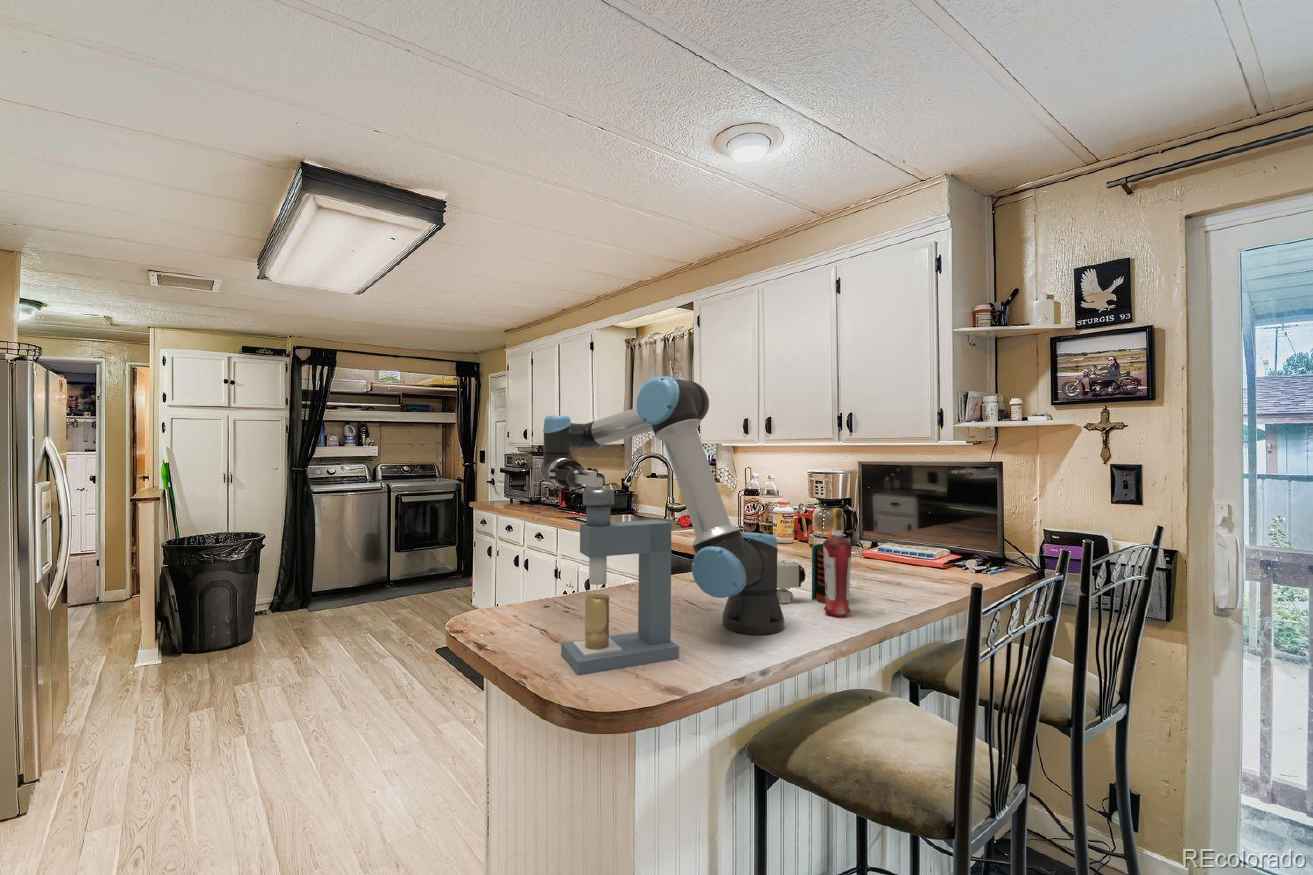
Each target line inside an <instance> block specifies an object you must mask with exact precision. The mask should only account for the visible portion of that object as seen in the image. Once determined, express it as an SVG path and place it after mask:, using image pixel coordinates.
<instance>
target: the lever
mask: <svg viewBox="0 0 1313 875" xmlns="http://www.w3.org/2000/svg"><path fill="white" fill-rule="evenodd" d="M567 482H568V484H569V485H570V486H571V487H570V488H576V489H577V488H581V487H582V486H589V487H592V488H584V489H582V505H584V506H587V505H588V506H608V505H610V506H614V504H615V490H614V489H613V488H612V489H611V488H603V487H604V486H603V485H604V484H603V483H604V479H603V477H599V476H598V477H592V476H586V475H585V474H584V472H583V471H581V470H580V469H573V470H571V471H570V472H569V473H568V474H567Z"/></svg>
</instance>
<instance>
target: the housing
mask: <svg viewBox="0 0 1313 875" xmlns="http://www.w3.org/2000/svg"><path fill="white" fill-rule="evenodd" d="M584 604H585V605H584V639H585V647H586V648H588V649H594V650H598V649H604V648H607V647H608V646H609V636H610V595H608V594H603V593H593V594H589V595H586V596H585V598H584Z"/></svg>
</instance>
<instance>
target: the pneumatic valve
mask: <svg viewBox="0 0 1313 875" xmlns="http://www.w3.org/2000/svg"><path fill="white" fill-rule="evenodd" d="M805 580H806V571H805V569H804V567H803V566H802V565H801V564H799V563H797V562H795V561H790V562H789V561H787V562H786V560H784V559H781V562H777V597H778V601H779V604H780V605H783V604H791V603H792V601H793V599H794V595H793V592H792V591H790V589H791V588H792V589H793V588H801V587H802V583H804V582H805Z"/></svg>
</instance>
